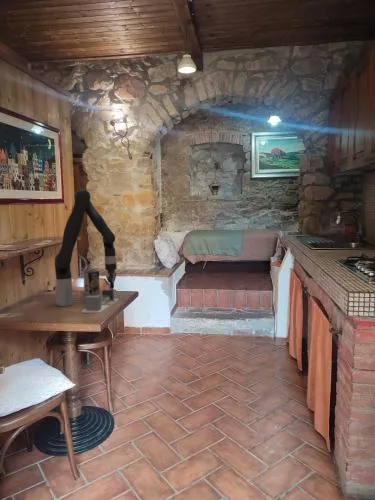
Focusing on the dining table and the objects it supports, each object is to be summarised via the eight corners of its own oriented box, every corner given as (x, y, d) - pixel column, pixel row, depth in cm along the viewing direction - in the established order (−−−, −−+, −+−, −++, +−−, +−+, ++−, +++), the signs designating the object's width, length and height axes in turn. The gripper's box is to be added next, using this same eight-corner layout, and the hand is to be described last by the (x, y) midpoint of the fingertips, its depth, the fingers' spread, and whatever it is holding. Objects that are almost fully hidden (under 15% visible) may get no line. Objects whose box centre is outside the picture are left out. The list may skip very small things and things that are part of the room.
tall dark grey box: (95, 304, 234) (95, 294, 233) (103, 298, 247) (103, 289, 246) (110, 304, 233) (109, 294, 232) (117, 299, 245) (117, 290, 245)
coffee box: (90, 295, 263) (88, 273, 261) (84, 294, 267) (83, 272, 265) (100, 293, 270) (99, 271, 268) (94, 291, 274) (93, 270, 272)
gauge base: (81, 312, 220) (80, 297, 219) (102, 299, 250) (101, 286, 249) (100, 313, 218) (99, 298, 217) (119, 300, 248) (118, 286, 247)
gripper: (109, 261, 257) (110, 285, 259) (101, 264, 244) (103, 290, 246) (119, 260, 255) (120, 285, 257) (112, 264, 242) (113, 290, 244)
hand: (112, 287), depth 252 cm, fingers closed
